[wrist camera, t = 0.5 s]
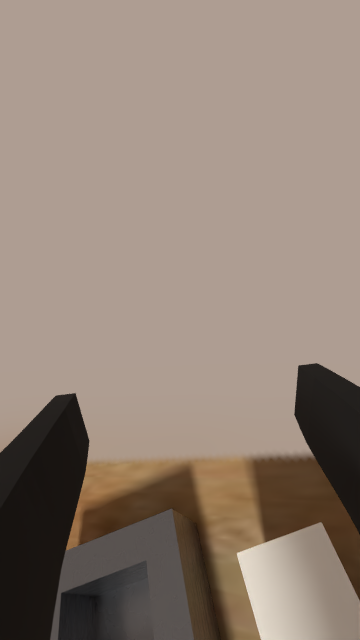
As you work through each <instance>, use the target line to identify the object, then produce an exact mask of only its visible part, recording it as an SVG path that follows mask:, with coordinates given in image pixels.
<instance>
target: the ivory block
mask: <svg viewBox="0 0 360 640" xmlns="http://www.w3.org/2000/svg"><path fill="white" fill-rule="evenodd" d="M237 556H238V559H239V563H240V567H241V570H242V574H243V577H244V581H245V584H246V588H247V591H248V595H249V598H250V602H251V605H252V609H253V613H254V616H255V620H256V623H257V627H258V630H259V634H260V637H261V640H360V601H359V598H358V596H357V594H356V592H355V590H354V588H353V586H352V584H351V582H350V580H349V578H348V576H347V574H346V572H345V570H344V567H343V565H342V563H341V561H340V559H339V557H338V555H337V553H336V551H335V549H334V547H333V545H332V543H331V541H330V539H329V537H328V534H327V532H326V530H325V528H324V526H323V524H322V522H320V523H317V524H314V525H312V526H309V527H306V528H304V529H301V530H298V531H296V532H293V533H290V534H287V535H285V536H282V537H279V538H277V539H274V540H271V541H268V542H266V543H263V544H260V545H258V546H255V547H252V548H250V549H247V550H244V551H241V552H239V553H237Z"/></svg>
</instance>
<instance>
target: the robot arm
mask: <svg viewBox="0 0 360 640" xmlns="http://www.w3.org/2000/svg"><path fill="white" fill-rule="evenodd" d="M294 415H295V417H296V419H297V422H298V424H299V427H300V429H301V431H302V433H303V436H304V438H305V440H306V442H307V444H308V446H309V448H310V450H311V451H312V453H313V455H314V456H315V458H316V460H317V461H318V463H319V465H320V467H321V468H322V470H323V472H324V473H325V475H326V477H327V478H328V480H329V482H330V483H331V485H332V487H333V488H334V490H335V492H336V493H337V495H338V497H339V498H340V500H341V502H342V503H343V505H344V507H345V508H346V510H347V512H348V513H349V515H350V517H351V519H352V521H353V523H354V524H355V526H356V528H357V530H358V532H359V534H360V387H359V386H357V385H355V384H353V383H352V382H350V381H348V380H346V379H345V378H343V377H341V376H339V375H337V374H336V373H334V372H332V371H331V370H329V369H327V368H325V367H323V366H321V365H319V364H317V363H316V364H309V365H300V366H298V378H297V390H296V402H295V414H294ZM88 447H89V439H88V435H87V431H86V428H85V425H84V421H83V418H82V414H81V411H80V407H79V404H78V401H77V397H76V394H75V393H74V394H66V395H58V396H55V397H54V398H53V399H52V400H51V401H50V402H49V403H48V404H47V405H46V406H45V407H44V409H43V410H42V411H41V412H40V413H39V414H38V415H37V416H36V417H35V418H34V419H33V420H32V421H31V422H30V423H29V424H28V425H27V426H26V428H25V429H23V430H22V432H21V433H20V434H19V435H18V436H17V437H16V438H15V439H14V440H13V441H12V442H11V443H10V444H9V445H8V446H7V447H6V448H5V449H4V450H3V451H2V452H1V453H0V640H50V637H51V631H52V624H53V617H54V611H55V605H56V599H57V593H58V587H59V581H60V575H61V569H62V564H63V560H64V555H65V551H66V547H67V543H68V539H69V535H70V531H71V527H72V523H73V520H74V516H75V512H76V508H77V504H78V500H79V496H80V492H81V488H82V484H83V480H84V476H85V471H86V464H87V457H88Z"/></svg>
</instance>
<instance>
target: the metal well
mask: <svg viewBox="0 0 360 640" xmlns="http://www.w3.org/2000/svg"><path fill="white" fill-rule="evenodd" d="M50 640H221V639H220V634H219V629H218V624H217V620H216V615H215V610H214V606H213V601H212V596H211V592H210V587H209V582H208V578H207V573H206V568H205V564H204V559H203V554H202V549H201V545H200V540H199V535H198V531H197V526H196V523H194V522H193V521H191V520H190V519H188V518H186V517H185V516H183V515H182V514H180V513H178V512H177V511H175V510H174V509H169V510H167V511H164V512H162V513H159V514H157V515H154V516H152V517H149V518H147V519H144V520H142V521H139V522H137V523H134V524H132V525H129V526H127V527H124V528H122V529H119V530H117V531H114V532H112V533H109V534H107V535H104V536H102V537H99V538H97V539H94V540H92V541H89V542H87V543H84V544H82V545H79V546H77V547H74V548H72V549H69V550H67V551H65V555H64V560H63V564H62V569H61V575H60V581H59V587H58V593H57V599H56V605H55V611H54V617H53V624H52V631H51V637H50Z"/></svg>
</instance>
